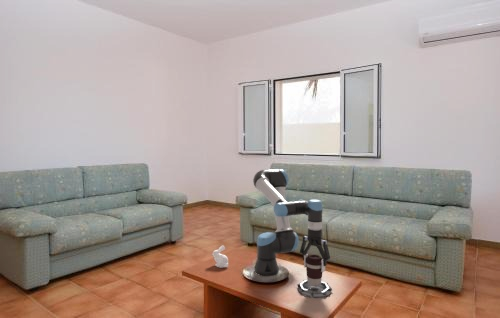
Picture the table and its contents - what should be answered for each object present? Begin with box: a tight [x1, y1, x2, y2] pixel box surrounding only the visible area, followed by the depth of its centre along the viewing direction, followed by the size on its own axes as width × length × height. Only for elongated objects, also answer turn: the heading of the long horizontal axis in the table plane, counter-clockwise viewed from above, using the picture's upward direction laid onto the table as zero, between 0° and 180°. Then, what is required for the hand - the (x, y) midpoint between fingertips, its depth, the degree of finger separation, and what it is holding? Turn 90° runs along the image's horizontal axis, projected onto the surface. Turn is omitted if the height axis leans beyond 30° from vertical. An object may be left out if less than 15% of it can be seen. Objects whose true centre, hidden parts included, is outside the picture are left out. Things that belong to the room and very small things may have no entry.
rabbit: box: [212, 244, 229, 269], centre depth 209 cm, size 12×9×12 cm
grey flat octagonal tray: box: [296, 279, 333, 299], centre depth 175 cm, size 18×18×2 cm
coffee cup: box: [305, 254, 323, 286], centre depth 174 cm, size 10×10×15 cm
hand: (314, 268), depth 174 cm, fingers closed on coffee cup, 10 cm apart
